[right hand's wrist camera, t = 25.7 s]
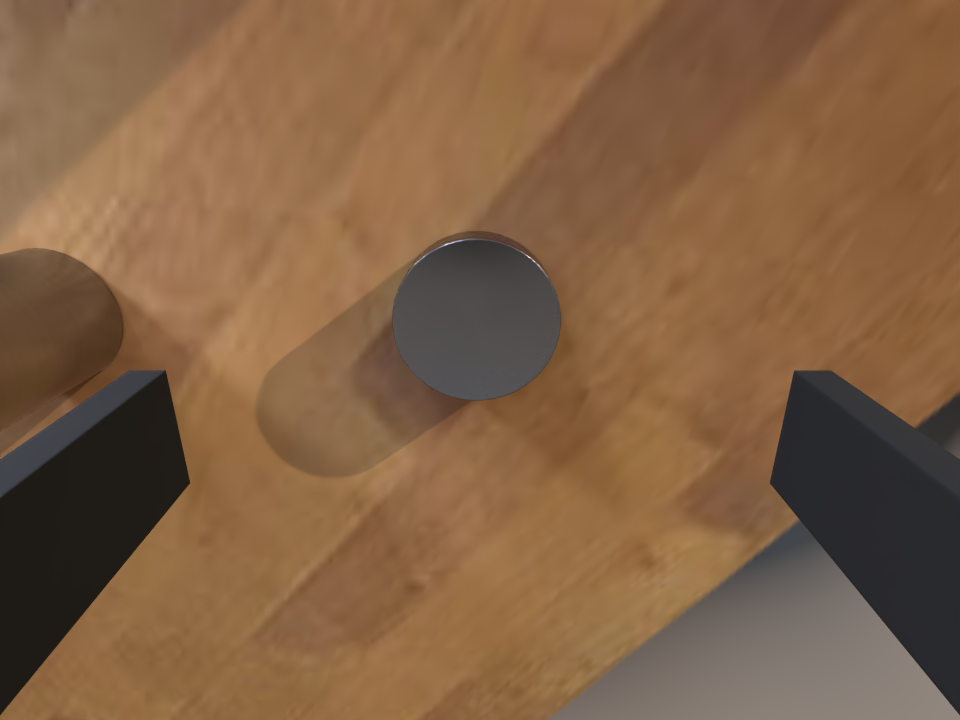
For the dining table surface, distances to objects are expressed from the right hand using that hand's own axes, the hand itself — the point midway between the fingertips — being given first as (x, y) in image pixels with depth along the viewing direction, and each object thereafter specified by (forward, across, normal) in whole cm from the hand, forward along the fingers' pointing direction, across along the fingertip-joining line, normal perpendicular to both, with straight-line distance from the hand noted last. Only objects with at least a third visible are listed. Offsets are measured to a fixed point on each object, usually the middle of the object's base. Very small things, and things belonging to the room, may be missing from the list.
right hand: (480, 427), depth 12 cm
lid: (+10, 0, +1) cm, 10 cm away
